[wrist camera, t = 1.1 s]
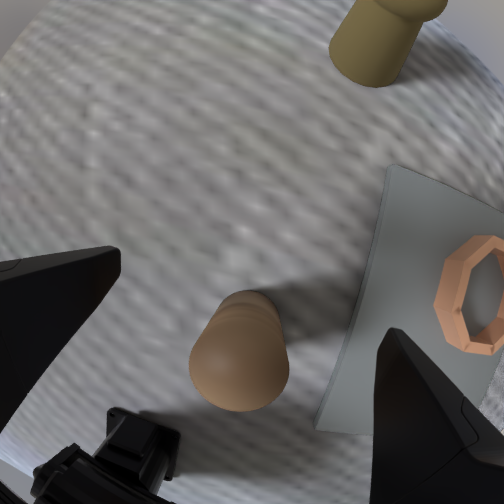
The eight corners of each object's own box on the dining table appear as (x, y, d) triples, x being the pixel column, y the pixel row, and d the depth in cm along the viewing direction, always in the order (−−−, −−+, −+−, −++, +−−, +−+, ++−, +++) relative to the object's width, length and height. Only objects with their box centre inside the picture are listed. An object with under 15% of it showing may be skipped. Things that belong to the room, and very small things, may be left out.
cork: (397, 41, 19) (450, -37, 8) (400, 96, 19) (473, 21, 8) (330, 22, 19) (359, -72, 8) (326, 76, 20) (365, -24, 9)
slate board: (459, 429, 20) (464, 434, 19) (312, 423, 21) (314, 430, 20) (524, 229, 19) (531, 229, 18) (387, 166, 20) (393, 163, 19)
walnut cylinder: (270, 358, 21) (273, 420, 13) (209, 342, 21) (181, 397, 13) (287, 299, 20) (301, 336, 12) (223, 283, 21) (199, 310, 13)
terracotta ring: (491, 348, 19) (508, 357, 17) (422, 337, 19) (439, 348, 17) (516, 254, 19) (535, 255, 16) (451, 226, 19) (471, 225, 16)
